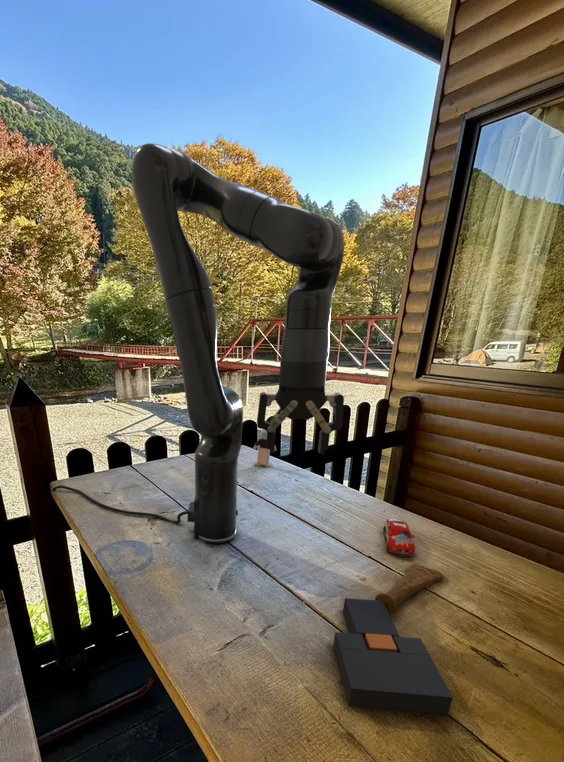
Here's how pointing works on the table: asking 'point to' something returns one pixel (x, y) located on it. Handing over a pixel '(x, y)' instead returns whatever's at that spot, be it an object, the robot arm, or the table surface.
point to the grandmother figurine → (262, 450)
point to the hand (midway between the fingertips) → (296, 452)
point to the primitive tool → (409, 586)
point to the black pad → (391, 676)
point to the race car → (398, 537)
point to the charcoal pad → (371, 623)
